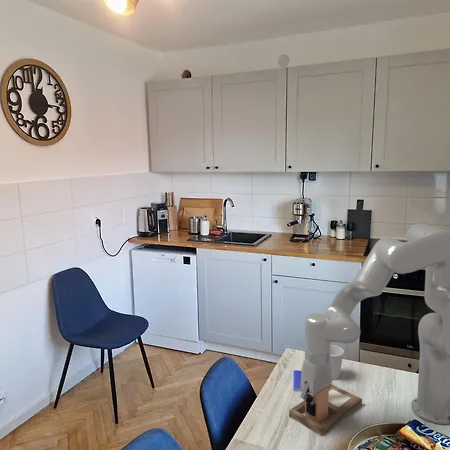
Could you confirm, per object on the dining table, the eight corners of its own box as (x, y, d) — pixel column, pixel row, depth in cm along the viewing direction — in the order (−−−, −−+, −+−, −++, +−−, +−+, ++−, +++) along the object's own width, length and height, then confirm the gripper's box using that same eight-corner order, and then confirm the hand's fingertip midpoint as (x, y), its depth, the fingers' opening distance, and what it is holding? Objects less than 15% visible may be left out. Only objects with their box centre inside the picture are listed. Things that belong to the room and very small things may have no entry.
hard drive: (317, 390, 135) (316, 371, 147) (293, 388, 137) (293, 369, 149) (317, 394, 135) (315, 375, 147) (293, 392, 137) (293, 373, 149)
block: (328, 417, 122) (328, 387, 121) (318, 424, 119) (318, 393, 118) (314, 409, 126) (315, 380, 124) (304, 416, 123) (305, 386, 121)
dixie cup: (343, 382, 141) (343, 356, 139) (319, 379, 144) (319, 353, 142) (343, 371, 149) (344, 346, 147) (320, 368, 151) (321, 343, 150)
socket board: (361, 404, 128) (362, 398, 128) (321, 435, 114) (321, 428, 114) (330, 389, 137) (330, 383, 137) (289, 416, 123) (289, 409, 123)
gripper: (323, 342, 128) (322, 394, 130) (289, 360, 117) (289, 416, 120) (344, 350, 122) (342, 404, 125) (310, 369, 111) (309, 428, 114)
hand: (316, 409), depth 122 cm, fingers closed on block, 5 cm apart
